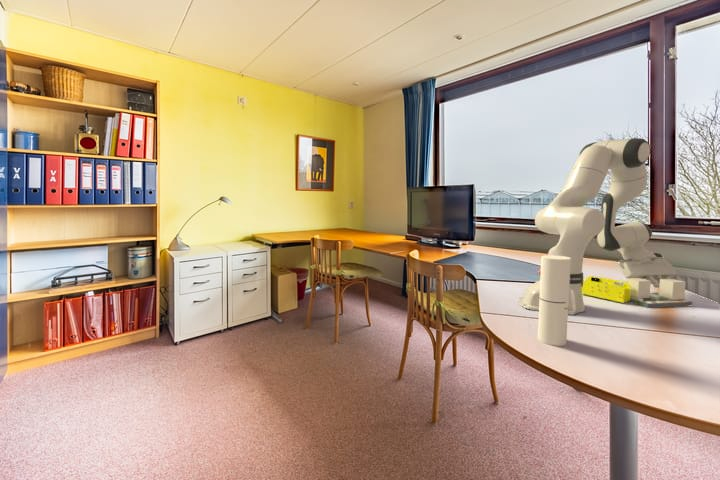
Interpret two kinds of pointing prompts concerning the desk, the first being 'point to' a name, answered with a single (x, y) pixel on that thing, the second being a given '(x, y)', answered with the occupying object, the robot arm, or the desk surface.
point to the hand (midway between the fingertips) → (660, 286)
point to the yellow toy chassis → (606, 289)
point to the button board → (658, 301)
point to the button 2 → (672, 289)
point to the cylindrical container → (554, 299)
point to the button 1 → (639, 287)
